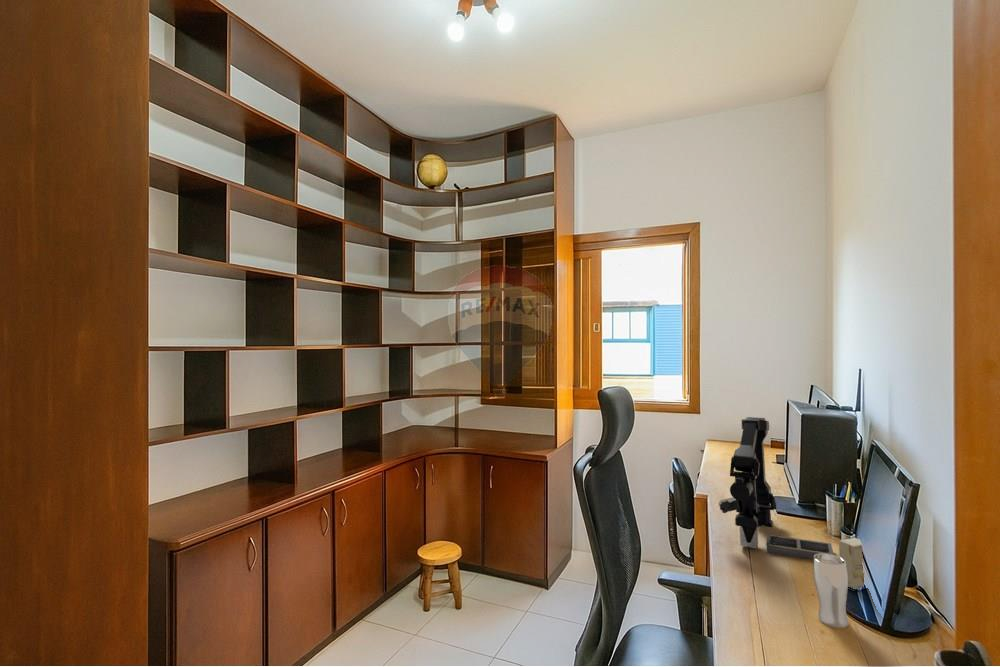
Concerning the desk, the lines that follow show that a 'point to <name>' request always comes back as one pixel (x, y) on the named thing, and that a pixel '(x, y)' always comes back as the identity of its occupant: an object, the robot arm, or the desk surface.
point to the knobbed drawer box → (753, 542)
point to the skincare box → (853, 561)
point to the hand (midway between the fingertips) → (749, 539)
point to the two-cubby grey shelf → (796, 543)
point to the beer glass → (831, 589)
